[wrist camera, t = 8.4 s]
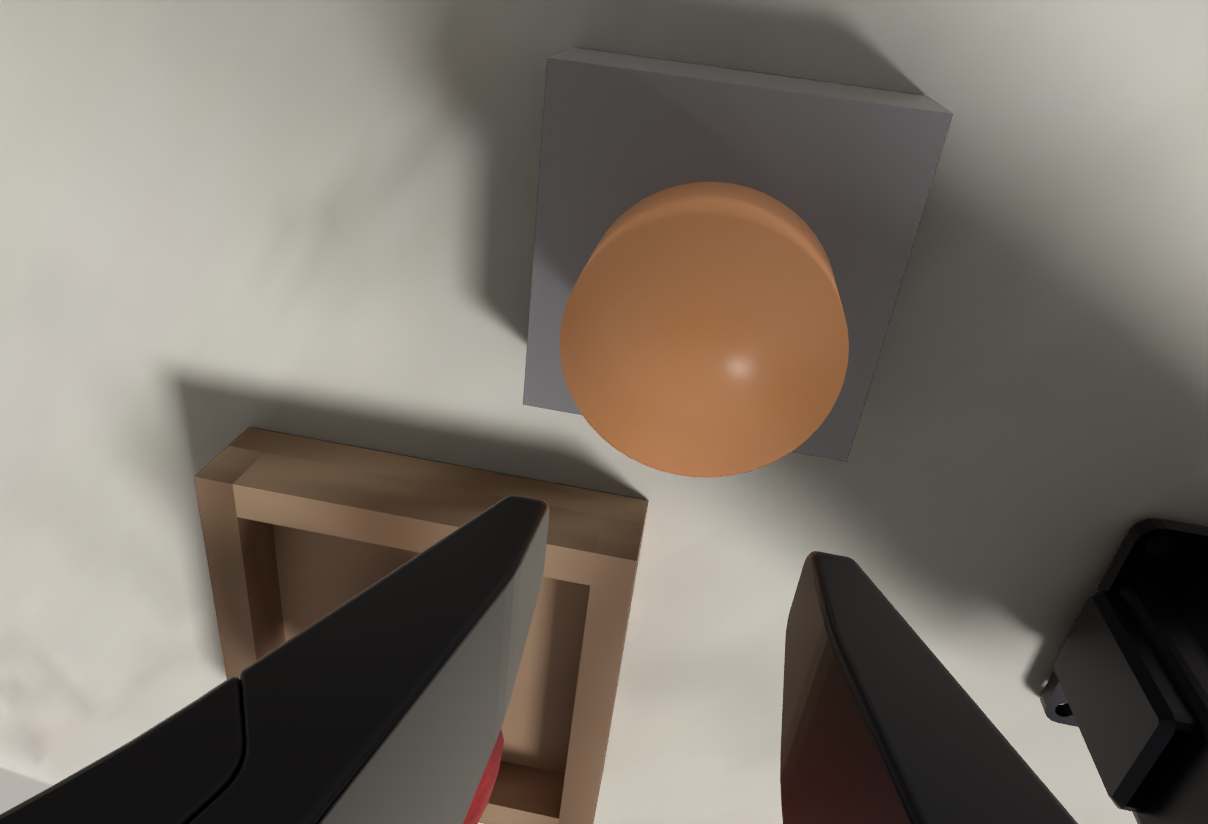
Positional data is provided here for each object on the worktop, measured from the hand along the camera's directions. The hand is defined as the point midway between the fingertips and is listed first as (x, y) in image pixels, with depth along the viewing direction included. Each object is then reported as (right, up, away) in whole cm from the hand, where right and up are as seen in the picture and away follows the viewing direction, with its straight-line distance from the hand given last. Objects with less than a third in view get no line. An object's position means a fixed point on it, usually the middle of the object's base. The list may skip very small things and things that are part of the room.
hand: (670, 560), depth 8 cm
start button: (+1, +3, +6) cm, 7 cm away
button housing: (+2, +5, +10) cm, 11 cm away
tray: (-6, -5, +16) cm, 18 cm away
